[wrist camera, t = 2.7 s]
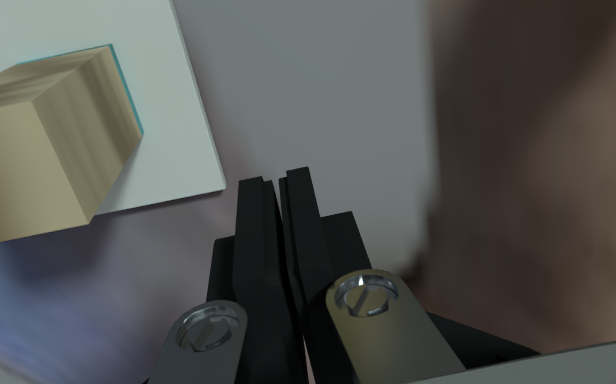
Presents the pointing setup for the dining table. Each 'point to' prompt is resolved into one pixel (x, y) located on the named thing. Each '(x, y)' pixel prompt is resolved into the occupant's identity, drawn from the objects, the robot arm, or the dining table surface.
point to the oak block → (62, 139)
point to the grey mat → (130, 87)
